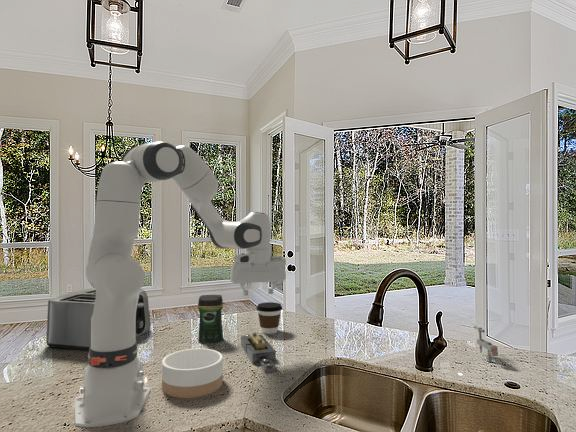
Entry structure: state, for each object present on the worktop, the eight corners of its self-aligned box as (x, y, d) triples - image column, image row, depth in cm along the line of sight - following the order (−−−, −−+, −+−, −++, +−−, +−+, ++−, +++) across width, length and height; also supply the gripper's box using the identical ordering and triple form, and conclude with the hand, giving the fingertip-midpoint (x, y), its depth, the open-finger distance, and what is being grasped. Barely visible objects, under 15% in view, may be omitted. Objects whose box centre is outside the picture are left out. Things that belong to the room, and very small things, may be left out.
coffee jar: (224, 338, 156) (224, 292, 156) (221, 345, 148) (221, 296, 148) (200, 339, 155) (200, 292, 155) (196, 345, 147) (196, 297, 147)
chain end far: (236, 340, 153) (236, 330, 153) (256, 338, 156) (256, 328, 156) (245, 355, 137) (245, 344, 137) (267, 353, 140) (267, 342, 140)
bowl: (198, 370, 124) (198, 344, 124) (235, 385, 114) (235, 356, 114) (149, 388, 111) (149, 359, 111) (185, 407, 100) (185, 375, 100)
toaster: (108, 357, 135) (108, 303, 135) (33, 350, 142) (33, 299, 142) (155, 333, 163) (155, 288, 163) (90, 328, 170) (90, 285, 170)
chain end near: (282, 372, 123) (282, 359, 123) (258, 375, 120) (258, 362, 120) (268, 354, 139) (268, 342, 139) (246, 356, 136) (246, 345, 136)
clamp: (498, 365, 128) (497, 334, 129) (492, 365, 128) (490, 334, 129) (478, 352, 143) (477, 325, 144) (472, 352, 143) (471, 325, 144)
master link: (265, 357, 133) (265, 340, 133) (256, 358, 132) (256, 341, 132) (257, 347, 144) (257, 331, 144) (249, 347, 143) (249, 332, 143)
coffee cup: (253, 330, 167) (253, 302, 167) (278, 328, 170) (278, 301, 170) (259, 338, 156) (259, 308, 156) (285, 335, 160) (285, 306, 160)
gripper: (283, 255, 147) (282, 291, 147) (229, 256, 141) (229, 294, 141) (288, 256, 141) (288, 294, 141) (232, 258, 135) (232, 297, 135)
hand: (258, 294), depth 141 cm, fingers open, 8 cm apart
